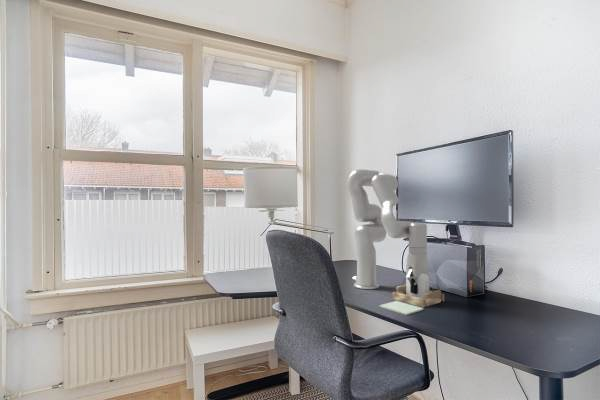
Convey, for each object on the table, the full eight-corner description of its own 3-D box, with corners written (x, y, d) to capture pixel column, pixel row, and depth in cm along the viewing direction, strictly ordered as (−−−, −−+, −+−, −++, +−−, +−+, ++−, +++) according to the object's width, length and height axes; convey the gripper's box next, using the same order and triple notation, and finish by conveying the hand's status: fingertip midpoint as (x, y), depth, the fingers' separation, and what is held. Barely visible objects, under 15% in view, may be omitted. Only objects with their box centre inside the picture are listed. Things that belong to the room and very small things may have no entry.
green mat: (379, 306, 137) (379, 305, 137) (396, 302, 143) (396, 300, 143) (406, 315, 126) (406, 313, 126) (423, 309, 133) (423, 308, 133)
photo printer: (404, 297, 149) (404, 270, 149) (409, 296, 152) (410, 269, 152) (425, 303, 141) (425, 274, 142) (431, 301, 144) (431, 272, 144)
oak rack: (392, 298, 148) (392, 287, 148) (413, 293, 157) (413, 282, 157) (423, 307, 136) (423, 295, 136) (444, 301, 145) (444, 289, 145)
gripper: (421, 248, 155) (421, 287, 155) (398, 251, 145) (398, 293, 145) (436, 250, 149) (436, 291, 149) (413, 253, 139) (413, 297, 139)
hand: (417, 291), depth 147 cm, fingers closed on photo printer, 4 cm apart
